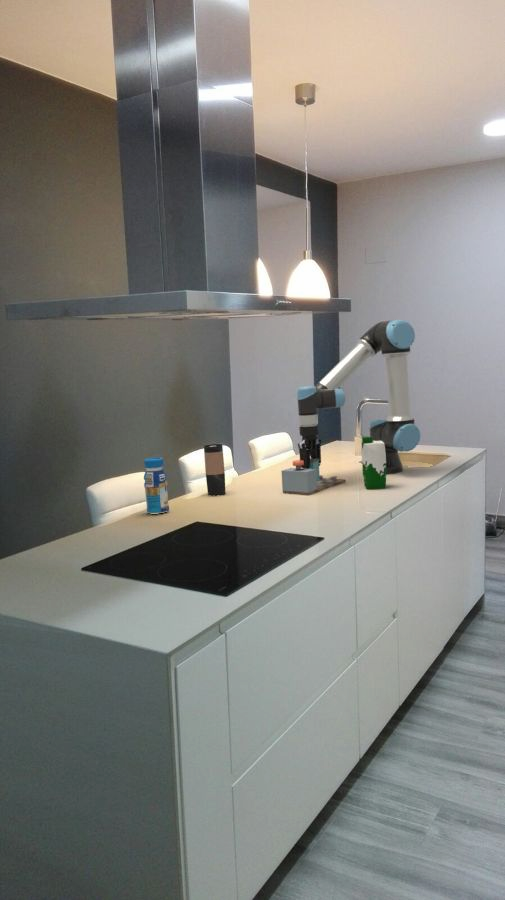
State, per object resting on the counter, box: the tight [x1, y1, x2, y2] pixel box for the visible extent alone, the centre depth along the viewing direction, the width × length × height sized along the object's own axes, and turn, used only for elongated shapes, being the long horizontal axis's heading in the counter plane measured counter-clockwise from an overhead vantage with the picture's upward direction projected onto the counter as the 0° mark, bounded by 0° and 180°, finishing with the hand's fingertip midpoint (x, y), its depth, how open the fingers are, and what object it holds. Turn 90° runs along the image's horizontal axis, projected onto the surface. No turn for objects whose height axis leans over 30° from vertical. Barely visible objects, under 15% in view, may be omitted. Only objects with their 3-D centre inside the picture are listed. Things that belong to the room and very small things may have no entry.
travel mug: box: [203, 443, 226, 497], centre depth 289 cm, size 8×8×20 cm
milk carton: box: [361, 436, 387, 491], centre depth 281 cm, size 9×9×20 cm
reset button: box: [292, 459, 304, 471], centre depth 281 cm, size 4×4×4 cm
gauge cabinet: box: [281, 467, 317, 493], centre depth 282 cm, size 6×12×8 cm, turn 52°
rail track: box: [282, 474, 347, 496], centre depth 290 cm, size 28×12×3 cm, turn 142°
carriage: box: [302, 457, 321, 482], centre depth 288 cm, size 4×5×11 cm
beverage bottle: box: [143, 457, 170, 514], centre depth 262 cm, size 8×8×20 cm
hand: (312, 483), depth 289 cm, fingers closed on carriage, 4 cm apart
